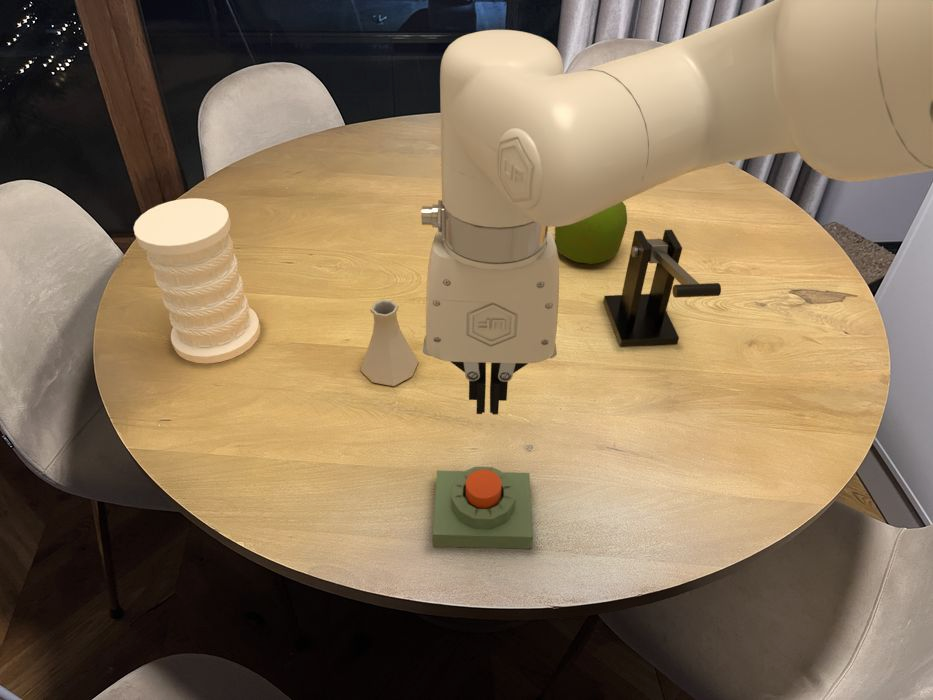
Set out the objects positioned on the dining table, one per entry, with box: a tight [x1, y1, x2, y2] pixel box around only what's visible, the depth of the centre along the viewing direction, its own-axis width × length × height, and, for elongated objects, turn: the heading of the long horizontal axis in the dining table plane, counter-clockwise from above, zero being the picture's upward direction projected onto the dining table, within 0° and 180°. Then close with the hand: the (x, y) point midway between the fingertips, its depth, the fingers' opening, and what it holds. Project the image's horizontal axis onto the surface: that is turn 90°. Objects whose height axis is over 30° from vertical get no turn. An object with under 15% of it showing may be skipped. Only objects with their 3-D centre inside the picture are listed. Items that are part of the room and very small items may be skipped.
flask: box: [359, 298, 420, 387], centre depth 85 cm, size 7×7×10 cm
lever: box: [646, 238, 722, 299], centre depth 82 cm, size 16×5×2 cm, turn 4°
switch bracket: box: [603, 229, 683, 347], centre depth 91 cm, size 10×8×14 cm
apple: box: [554, 201, 628, 265], centre depth 105 cm, size 11×11×11 cm
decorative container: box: [133, 197, 261, 364], centre depth 87 cm, size 12×12×18 cm
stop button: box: [466, 470, 502, 508], centre depth 69 cm, size 4×4×2 cm
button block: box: [432, 466, 534, 550], centre depth 70 cm, size 10×8×4 cm
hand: (487, 402), depth 60 cm, fingers closed
